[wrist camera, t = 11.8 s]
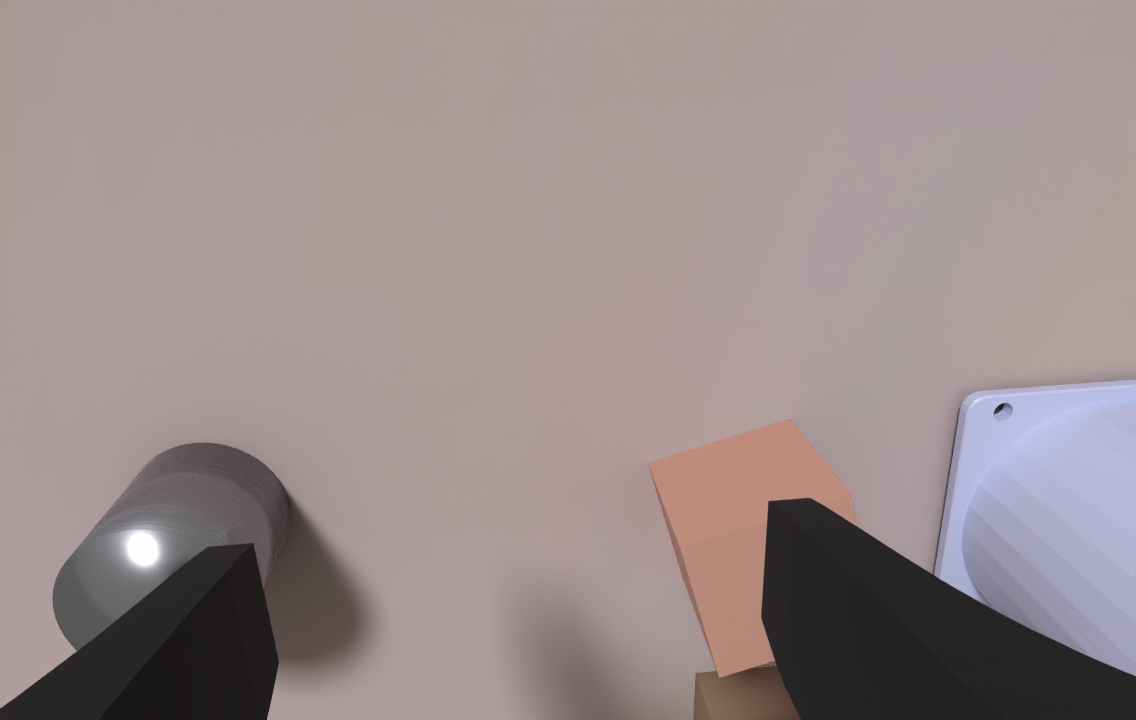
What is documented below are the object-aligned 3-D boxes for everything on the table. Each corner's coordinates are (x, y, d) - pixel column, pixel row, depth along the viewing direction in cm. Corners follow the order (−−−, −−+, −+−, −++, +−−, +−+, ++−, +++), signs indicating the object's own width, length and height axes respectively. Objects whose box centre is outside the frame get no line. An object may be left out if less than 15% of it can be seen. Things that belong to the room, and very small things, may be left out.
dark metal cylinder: (277, 436, 20) (229, 523, 17) (302, 567, 22) (263, 673, 18) (114, 448, 20) (29, 539, 16) (151, 580, 22) (79, 691, 18)
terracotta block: (788, 417, 22) (851, 493, 18) (814, 535, 23) (877, 629, 19) (647, 461, 22) (680, 547, 18) (682, 576, 23) (719, 677, 19)
